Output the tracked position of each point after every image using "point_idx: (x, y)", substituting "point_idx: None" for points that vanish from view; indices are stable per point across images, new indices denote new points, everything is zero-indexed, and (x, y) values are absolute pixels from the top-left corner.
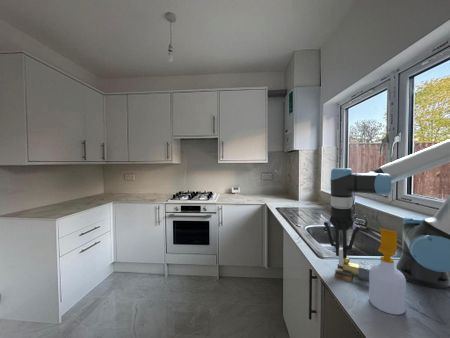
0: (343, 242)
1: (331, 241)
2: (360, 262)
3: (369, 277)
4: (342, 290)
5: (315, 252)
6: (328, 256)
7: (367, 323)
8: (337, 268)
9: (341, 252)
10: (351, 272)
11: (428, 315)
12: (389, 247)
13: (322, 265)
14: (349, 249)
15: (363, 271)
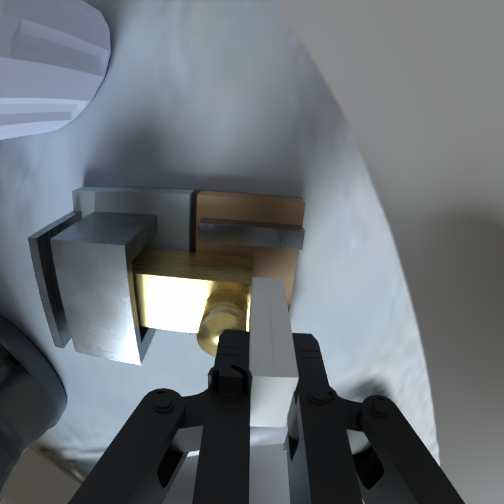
0: (240, 468)
1: (401, 441)
2: (129, 335)
3: (35, 13)
4: (247, 58)
5: None
6: None
7: None
8: (288, 295)
9: (266, 355)
10: (196, 256)
11: None
12: None
13: (370, 313)
14: (171, 390)
15: (104, 234)
